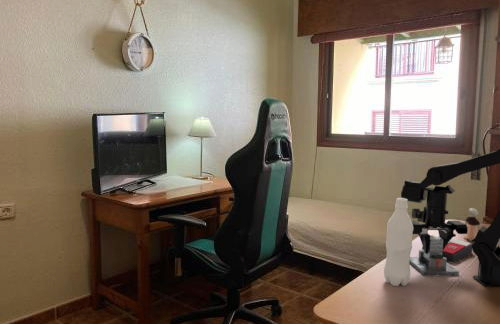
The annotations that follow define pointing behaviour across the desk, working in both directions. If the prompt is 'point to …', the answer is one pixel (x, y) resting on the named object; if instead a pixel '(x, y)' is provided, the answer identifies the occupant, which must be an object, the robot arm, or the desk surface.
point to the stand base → (432, 265)
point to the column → (434, 246)
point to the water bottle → (398, 245)
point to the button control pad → (456, 250)
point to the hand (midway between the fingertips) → (432, 253)
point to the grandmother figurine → (472, 224)
